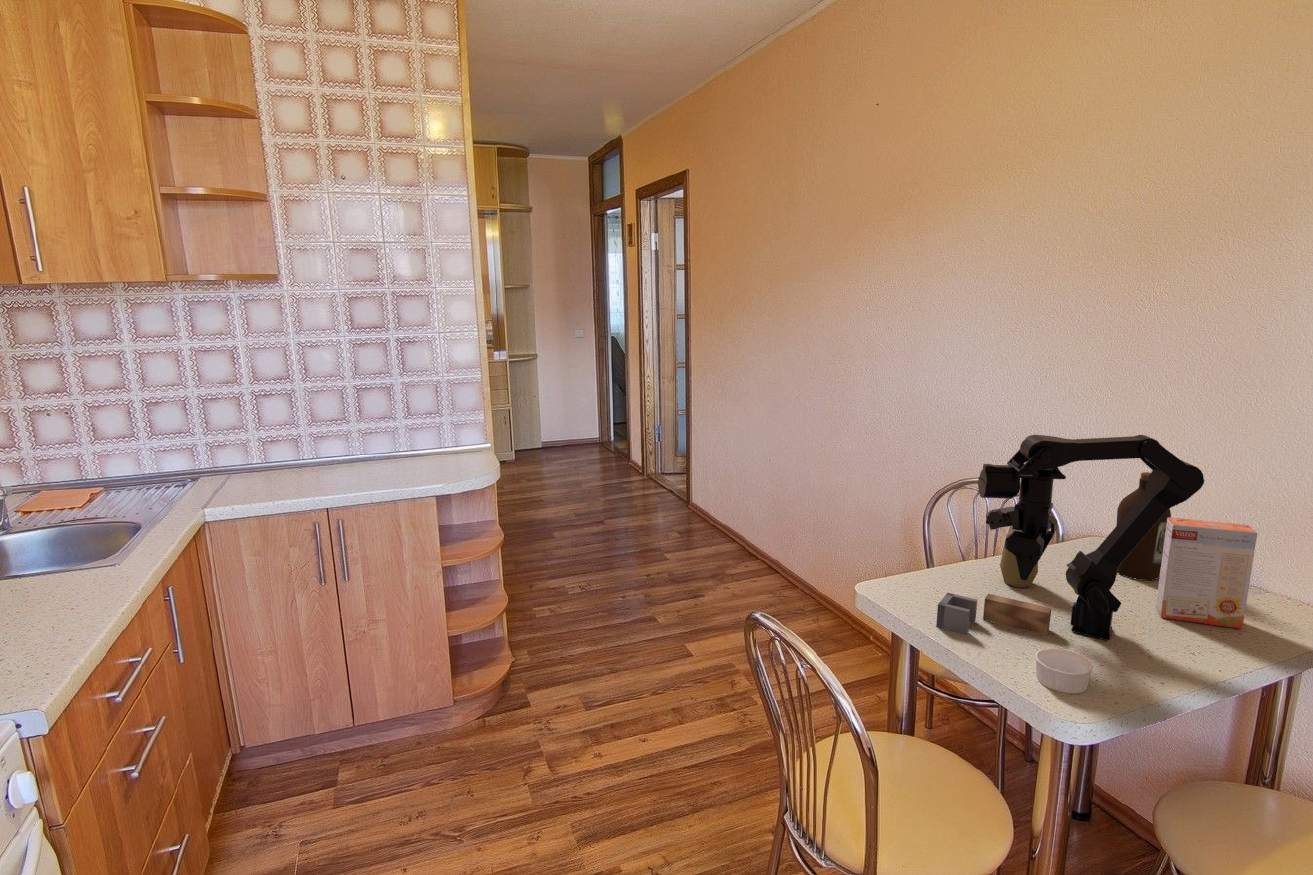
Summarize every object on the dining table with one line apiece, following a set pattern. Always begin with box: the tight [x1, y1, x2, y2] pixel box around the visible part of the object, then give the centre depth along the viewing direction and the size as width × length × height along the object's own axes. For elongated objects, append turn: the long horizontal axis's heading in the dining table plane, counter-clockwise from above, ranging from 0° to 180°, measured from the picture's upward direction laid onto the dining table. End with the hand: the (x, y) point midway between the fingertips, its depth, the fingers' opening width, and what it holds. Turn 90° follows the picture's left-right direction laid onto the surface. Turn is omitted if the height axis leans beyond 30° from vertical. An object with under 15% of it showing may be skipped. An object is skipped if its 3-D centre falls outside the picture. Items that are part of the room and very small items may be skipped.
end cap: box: [935, 592, 978, 635], centre depth 147 cm, size 6×7×5 cm
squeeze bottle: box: [999, 527, 1039, 588], centre depth 165 cm, size 8×8×18 cm
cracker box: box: [1155, 517, 1258, 630], centre depth 146 cm, size 14×6×21 cm, turn 65°
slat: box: [982, 593, 1052, 636], centre depth 146 cm, size 12×3×5 cm, turn 53°
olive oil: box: [1115, 471, 1172, 581], centre depth 169 cm, size 11×11×25 cm
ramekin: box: [1034, 647, 1094, 695], centre depth 125 cm, size 9×9×4 cm
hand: (1028, 572), depth 144 cm, fingers open, 9 cm apart
